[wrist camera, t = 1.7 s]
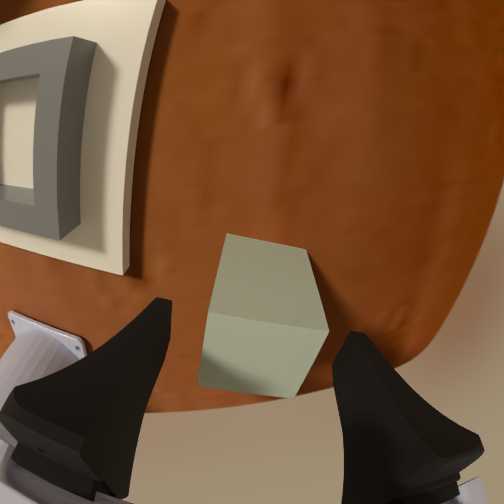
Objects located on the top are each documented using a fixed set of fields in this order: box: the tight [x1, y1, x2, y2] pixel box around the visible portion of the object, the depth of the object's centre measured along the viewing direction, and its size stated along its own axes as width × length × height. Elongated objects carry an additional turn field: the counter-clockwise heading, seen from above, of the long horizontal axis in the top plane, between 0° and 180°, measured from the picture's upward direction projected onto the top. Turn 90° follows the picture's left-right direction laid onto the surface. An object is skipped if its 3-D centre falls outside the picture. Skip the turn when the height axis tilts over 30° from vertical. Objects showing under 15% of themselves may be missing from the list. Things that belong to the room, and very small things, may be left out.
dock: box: [0, 0, 166, 275], centre depth 10 cm, size 14×14×3 cm
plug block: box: [198, 234, 329, 398], centre depth 13 cm, size 4×4×6 cm
